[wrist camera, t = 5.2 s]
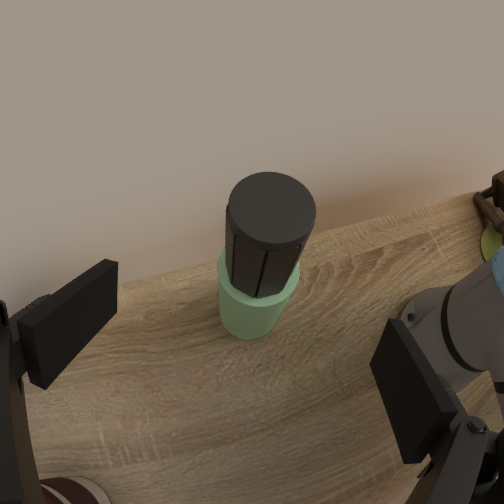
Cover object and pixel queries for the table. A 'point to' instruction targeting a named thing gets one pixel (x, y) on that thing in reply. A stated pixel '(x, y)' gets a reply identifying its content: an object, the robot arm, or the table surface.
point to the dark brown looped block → (500, 191)
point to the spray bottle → (250, 306)
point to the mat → (490, 242)
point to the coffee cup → (72, 491)
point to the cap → (266, 232)
